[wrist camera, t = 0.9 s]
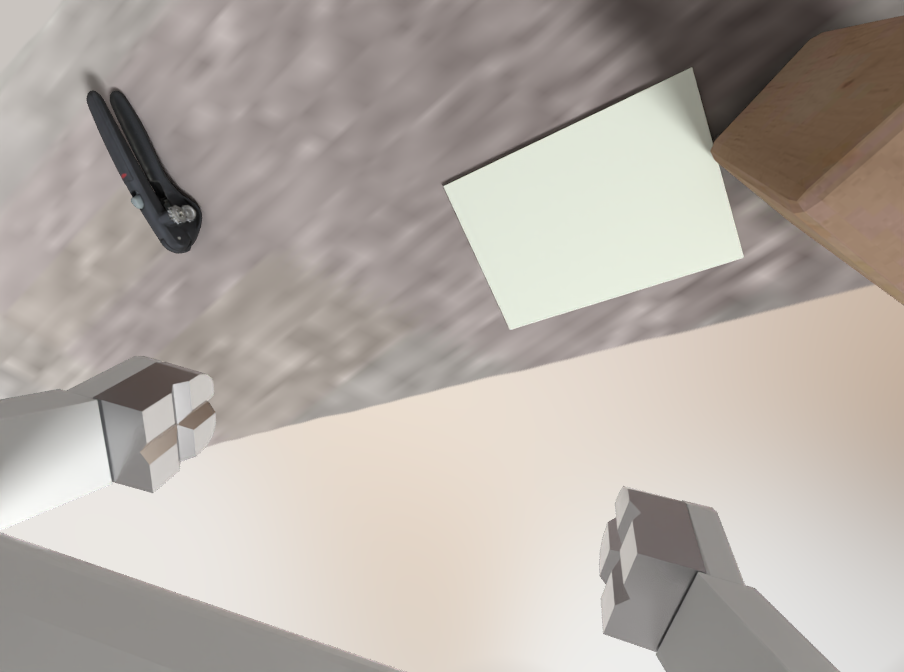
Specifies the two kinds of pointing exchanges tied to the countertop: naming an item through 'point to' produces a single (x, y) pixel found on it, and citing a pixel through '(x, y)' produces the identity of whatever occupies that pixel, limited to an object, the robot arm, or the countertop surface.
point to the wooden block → (833, 147)
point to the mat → (600, 206)
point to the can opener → (145, 174)
